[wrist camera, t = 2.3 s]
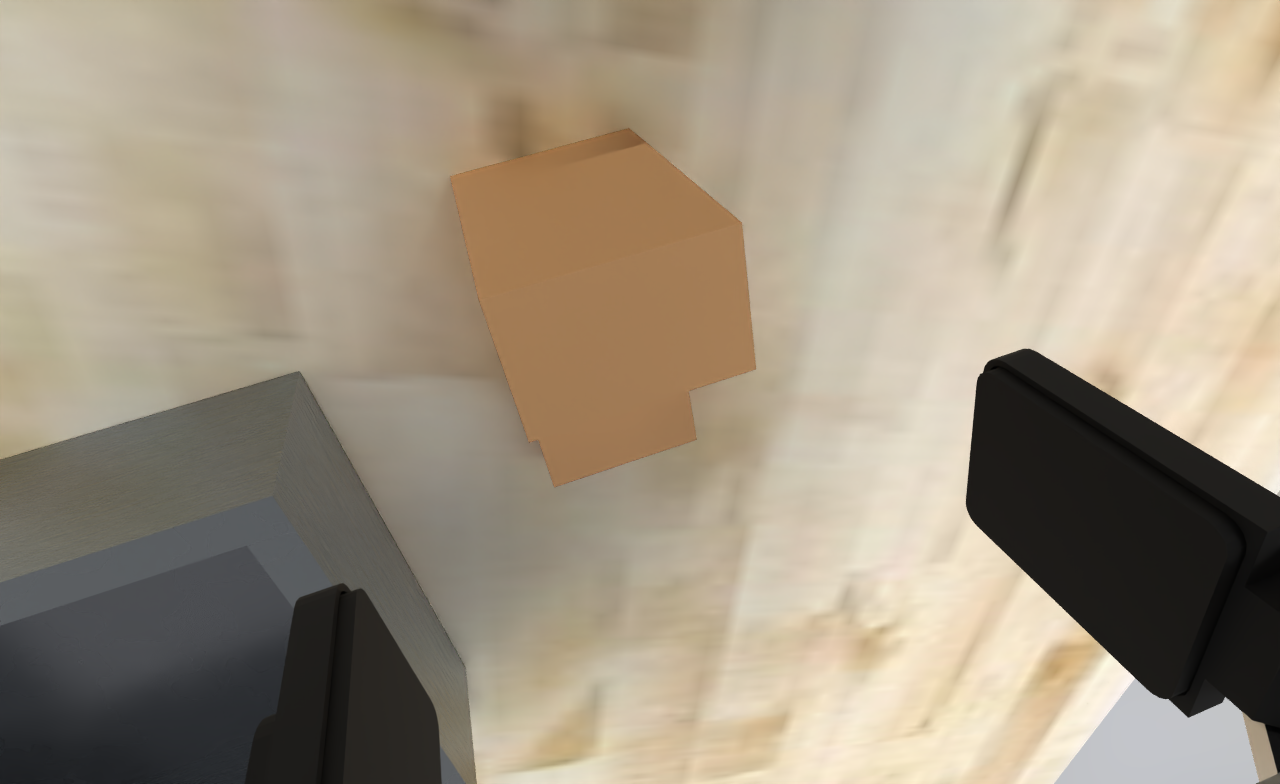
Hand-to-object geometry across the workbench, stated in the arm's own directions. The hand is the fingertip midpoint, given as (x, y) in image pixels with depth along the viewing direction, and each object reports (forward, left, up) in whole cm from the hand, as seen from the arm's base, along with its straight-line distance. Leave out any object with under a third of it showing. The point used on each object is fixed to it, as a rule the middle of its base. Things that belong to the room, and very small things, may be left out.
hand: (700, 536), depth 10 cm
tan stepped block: (+2, 0, -11) cm, 11 cm away
